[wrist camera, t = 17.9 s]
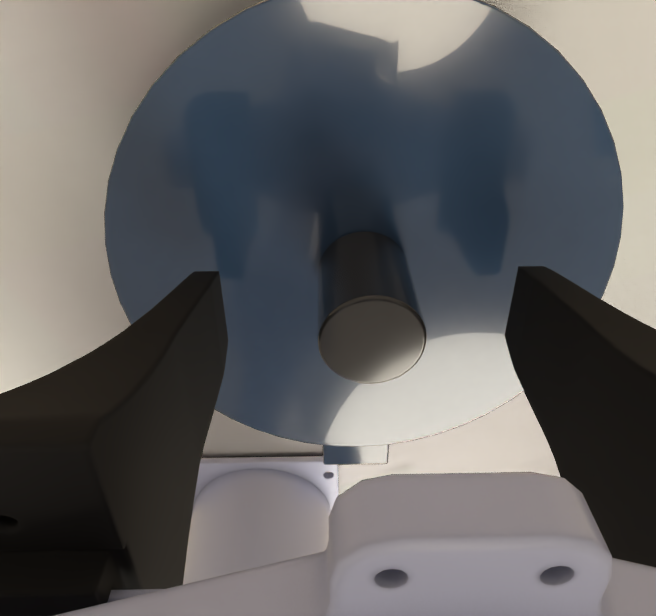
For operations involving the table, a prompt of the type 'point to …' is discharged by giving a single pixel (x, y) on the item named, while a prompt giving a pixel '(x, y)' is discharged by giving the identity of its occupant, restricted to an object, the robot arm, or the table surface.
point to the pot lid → (364, 206)
